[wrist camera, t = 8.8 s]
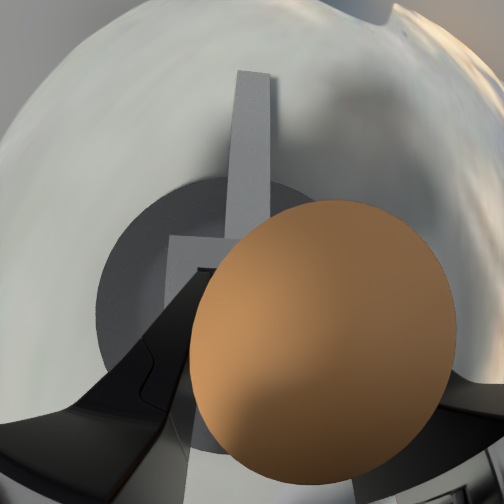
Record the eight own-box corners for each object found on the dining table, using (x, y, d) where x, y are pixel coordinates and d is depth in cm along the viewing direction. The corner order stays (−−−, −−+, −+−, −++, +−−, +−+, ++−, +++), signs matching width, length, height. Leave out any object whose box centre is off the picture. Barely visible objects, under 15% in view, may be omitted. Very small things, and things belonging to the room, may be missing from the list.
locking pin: (257, 363, 14) (386, 494, 2) (198, 335, 14) (135, 426, 2) (286, 306, 15) (475, 278, 3) (228, 277, 15) (282, 149, 3)
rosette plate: (359, 434, 16) (387, 454, 12) (106, 434, 14) (85, 458, 10) (348, 109, 22) (366, 81, 18) (145, 89, 20) (138, 56, 16)
